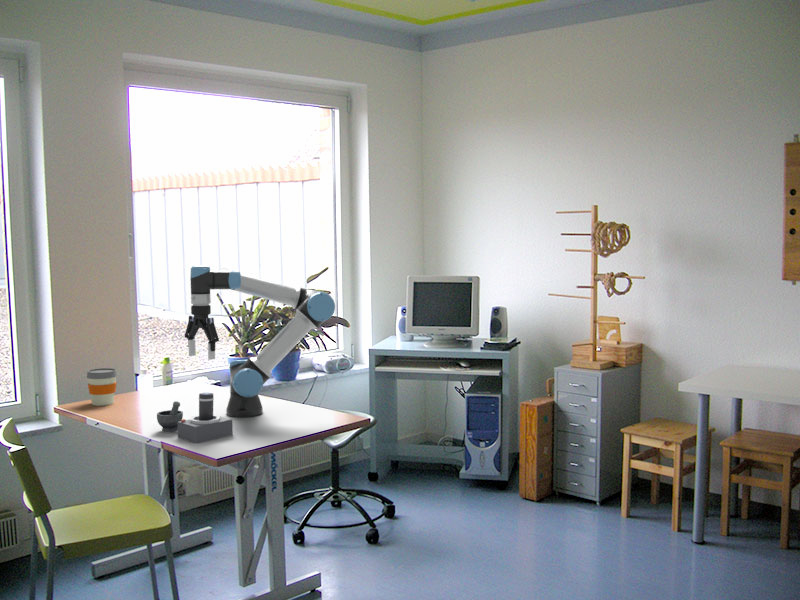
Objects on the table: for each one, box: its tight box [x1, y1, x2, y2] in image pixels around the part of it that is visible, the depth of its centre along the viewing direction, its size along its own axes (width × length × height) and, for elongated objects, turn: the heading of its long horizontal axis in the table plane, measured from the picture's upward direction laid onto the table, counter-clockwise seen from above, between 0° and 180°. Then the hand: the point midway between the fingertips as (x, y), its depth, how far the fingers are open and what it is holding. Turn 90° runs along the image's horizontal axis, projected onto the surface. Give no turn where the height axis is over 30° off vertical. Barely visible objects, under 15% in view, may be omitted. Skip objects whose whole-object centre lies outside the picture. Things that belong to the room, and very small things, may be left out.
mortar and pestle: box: [156, 400, 184, 433], centre depth 296 cm, size 11×9×12 cm
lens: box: [198, 392, 215, 421], centre depth 288 cm, size 5×5×10 cm
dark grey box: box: [177, 414, 234, 444], centre depth 288 cm, size 16×12×7 cm
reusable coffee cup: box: [86, 367, 118, 406], centre depth 344 cm, size 13×13×15 cm
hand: (201, 357), depth 306 cm, fingers open, 13 cm apart
